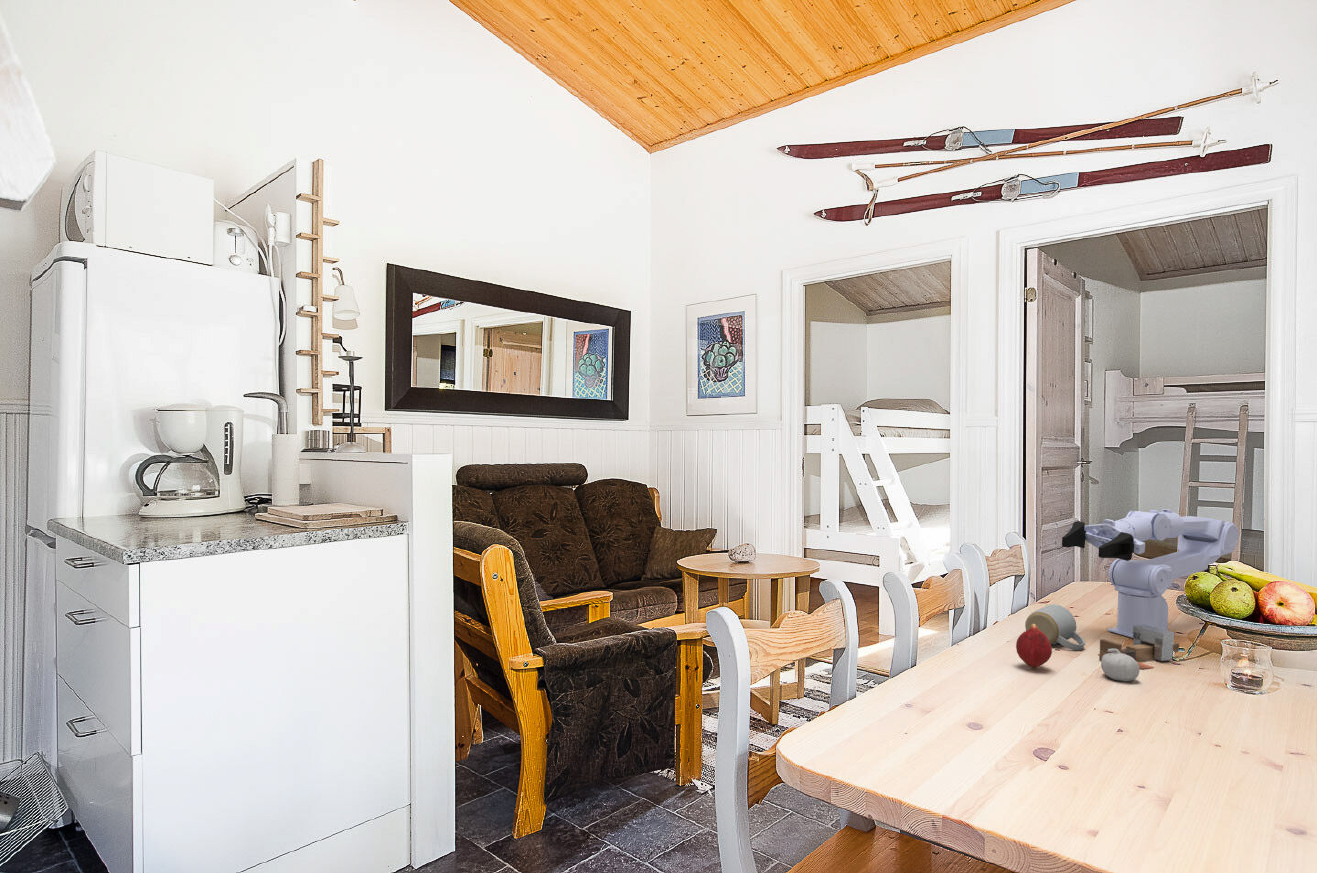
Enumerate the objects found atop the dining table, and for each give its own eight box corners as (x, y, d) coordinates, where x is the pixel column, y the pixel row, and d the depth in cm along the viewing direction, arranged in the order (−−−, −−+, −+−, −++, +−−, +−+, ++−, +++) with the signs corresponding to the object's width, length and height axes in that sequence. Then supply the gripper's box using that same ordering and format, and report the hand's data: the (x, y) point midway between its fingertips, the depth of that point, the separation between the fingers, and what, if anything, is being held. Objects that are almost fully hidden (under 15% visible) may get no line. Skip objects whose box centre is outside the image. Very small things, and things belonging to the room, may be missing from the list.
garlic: (1094, 678, 133) (1095, 648, 133) (1105, 672, 137) (1106, 643, 137) (1132, 687, 129) (1134, 656, 128) (1143, 681, 132) (1144, 651, 132)
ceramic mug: (1021, 641, 155) (1023, 605, 155) (1039, 635, 160) (1041, 600, 160) (1074, 655, 147) (1076, 617, 147) (1091, 648, 152) (1093, 611, 152)
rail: (1151, 648, 152) (1151, 629, 152) (1197, 662, 144) (1197, 641, 144) (1086, 656, 146) (1087, 635, 146) (1131, 671, 137) (1131, 649, 137)
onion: (1057, 674, 134) (1059, 629, 134) (1024, 673, 134) (1026, 628, 134) (1041, 664, 140) (1043, 620, 140) (1009, 663, 140) (1011, 619, 140)
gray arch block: (1142, 650, 149) (1143, 624, 149) (1173, 659, 144) (1174, 632, 144) (1132, 652, 148) (1133, 625, 148) (1162, 661, 143) (1163, 633, 143)
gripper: (1089, 507, 165) (1049, 519, 159) (1159, 524, 153) (1119, 537, 146) (1087, 538, 166) (1047, 551, 160) (1156, 557, 154) (1116, 572, 148)
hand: (1081, 547), depth 153 cm, fingers open, 7 cm apart
